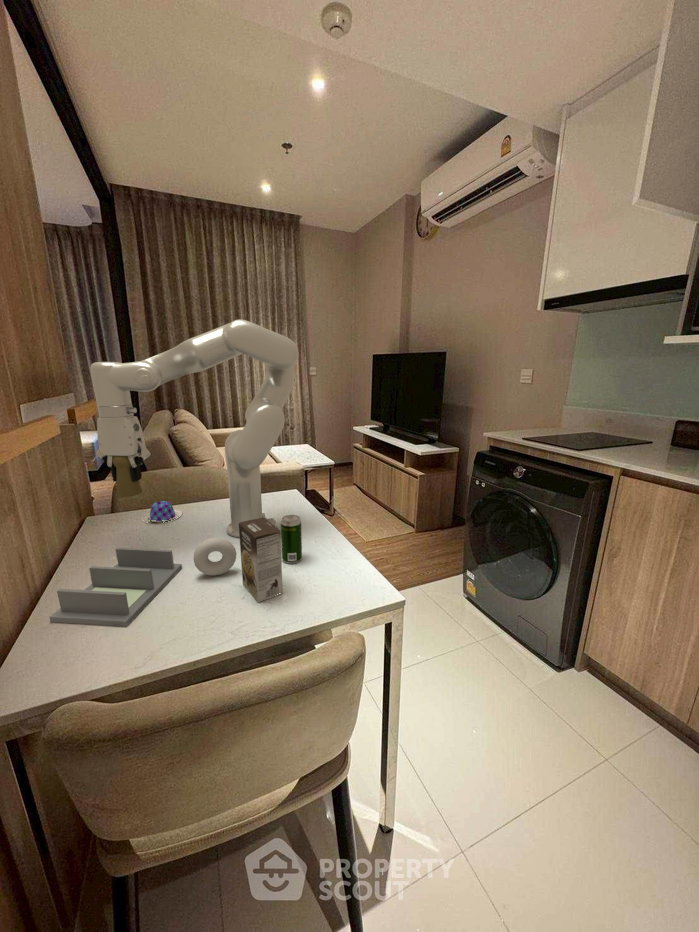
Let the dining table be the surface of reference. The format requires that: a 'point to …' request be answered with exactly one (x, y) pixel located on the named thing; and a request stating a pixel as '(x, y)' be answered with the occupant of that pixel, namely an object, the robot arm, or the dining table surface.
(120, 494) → the brown gourd-shaped form
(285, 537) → the beer can
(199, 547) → the donut
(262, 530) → the coffee box
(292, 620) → the dining table surface
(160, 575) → the rack
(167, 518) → the purple patterned dome
